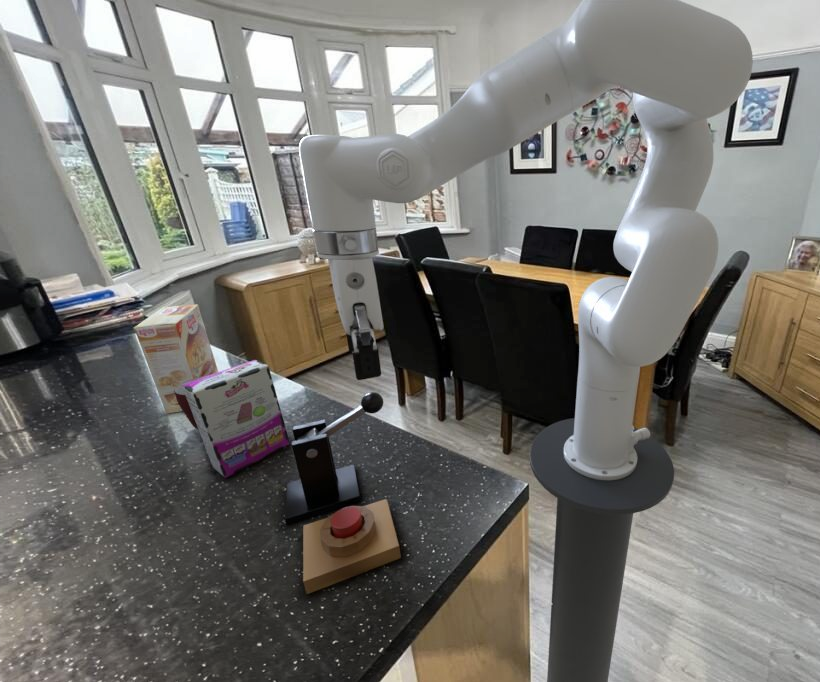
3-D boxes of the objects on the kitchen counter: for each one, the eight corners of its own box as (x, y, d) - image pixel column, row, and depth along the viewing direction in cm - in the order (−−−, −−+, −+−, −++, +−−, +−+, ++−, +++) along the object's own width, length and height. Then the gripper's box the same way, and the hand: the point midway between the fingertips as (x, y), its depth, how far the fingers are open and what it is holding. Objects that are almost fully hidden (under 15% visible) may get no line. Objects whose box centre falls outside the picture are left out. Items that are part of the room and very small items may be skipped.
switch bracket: (355, 470, 66) (343, 410, 62) (360, 502, 60) (348, 437, 55) (288, 488, 62) (271, 426, 58) (286, 525, 56) (267, 457, 51)
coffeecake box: (205, 408, 85) (176, 323, 77) (164, 415, 82) (130, 327, 75) (222, 378, 98) (199, 303, 90) (187, 383, 95) (160, 306, 88)
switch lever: (385, 399, 62) (374, 384, 60) (389, 408, 59) (377, 394, 58) (309, 448, 59) (295, 434, 58) (309, 461, 57) (295, 446, 55)
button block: (388, 510, 58) (385, 488, 57) (400, 558, 51) (397, 535, 49) (306, 537, 54) (300, 515, 52) (306, 594, 46) (299, 570, 45)
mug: (211, 413, 83) (197, 370, 79) (252, 409, 84) (240, 367, 80) (181, 443, 73) (163, 396, 69) (228, 439, 74) (213, 393, 71)
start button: (360, 512, 53) (359, 502, 53) (364, 532, 50) (362, 522, 50) (332, 522, 52) (329, 512, 51) (334, 543, 49) (331, 532, 48)
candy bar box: (276, 435, 75) (255, 358, 69) (291, 444, 73) (270, 364, 67) (210, 468, 67) (179, 383, 61) (224, 479, 64) (193, 392, 58)
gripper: (389, 251, 45) (403, 384, 51) (368, 234, 59) (381, 339, 66) (317, 256, 42) (341, 396, 48) (313, 237, 56) (332, 346, 63)
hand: (364, 363), depth 57 cm, fingers open, 9 cm apart
